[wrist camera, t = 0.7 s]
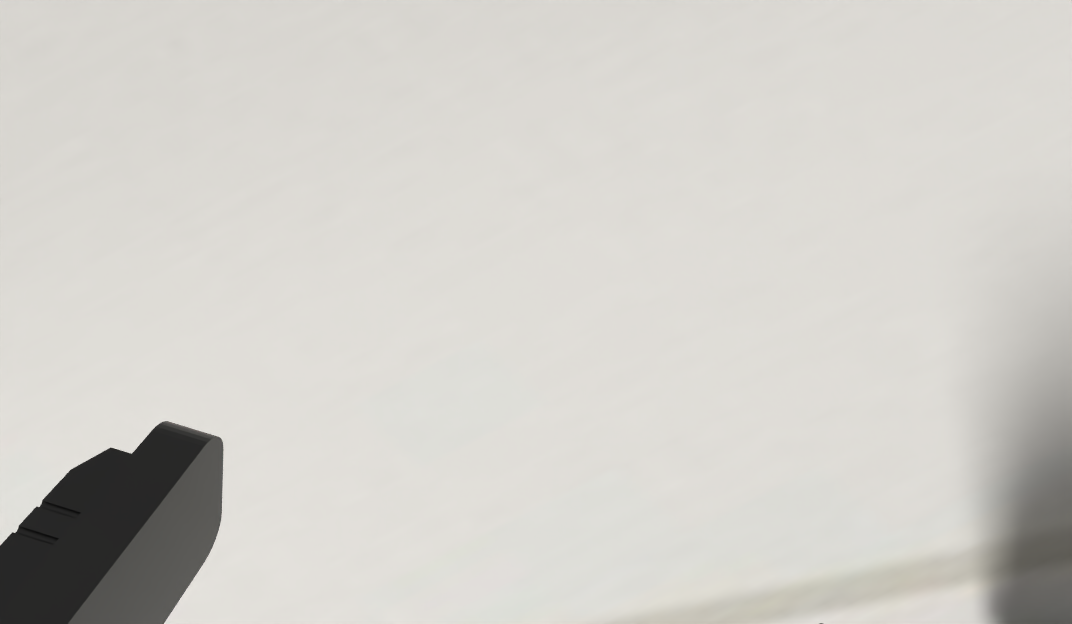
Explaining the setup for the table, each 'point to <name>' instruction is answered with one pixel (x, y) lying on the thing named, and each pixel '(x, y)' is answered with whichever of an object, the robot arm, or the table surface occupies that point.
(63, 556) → the robot arm
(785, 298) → the table surface
